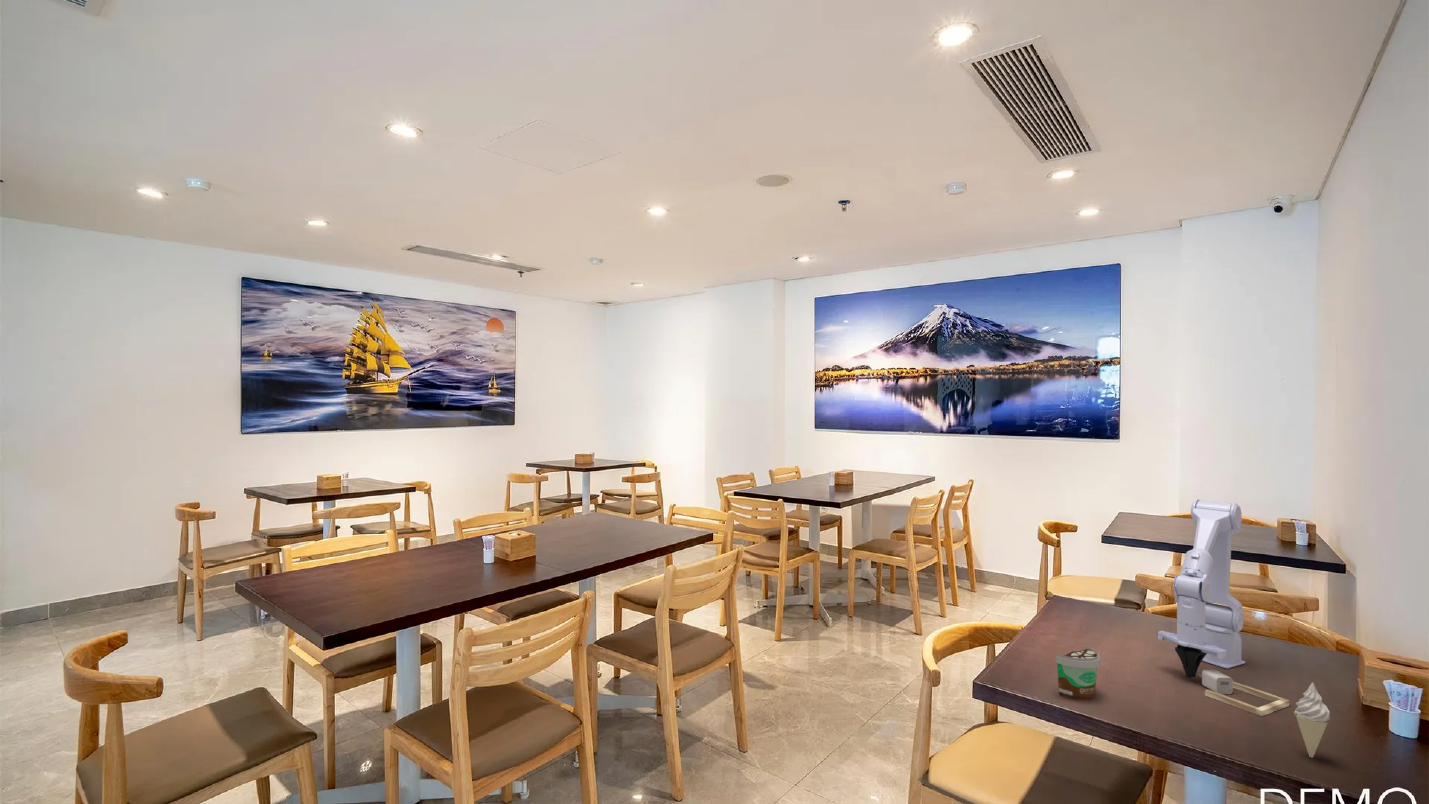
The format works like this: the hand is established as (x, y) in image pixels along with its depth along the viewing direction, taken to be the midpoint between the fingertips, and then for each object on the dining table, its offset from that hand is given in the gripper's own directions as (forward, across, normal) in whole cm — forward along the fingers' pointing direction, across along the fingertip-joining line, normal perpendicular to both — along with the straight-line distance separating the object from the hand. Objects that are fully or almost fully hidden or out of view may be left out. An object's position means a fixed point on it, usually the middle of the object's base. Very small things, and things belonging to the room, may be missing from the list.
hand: (1190, 676), depth 158 cm
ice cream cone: (+1, +30, -17) cm, 35 cm away
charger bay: (+1, +11, 0) cm, 11 cm away
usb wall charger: (+1, +5, 0) cm, 5 cm away
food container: (+1, -6, -34) cm, 34 cm away
